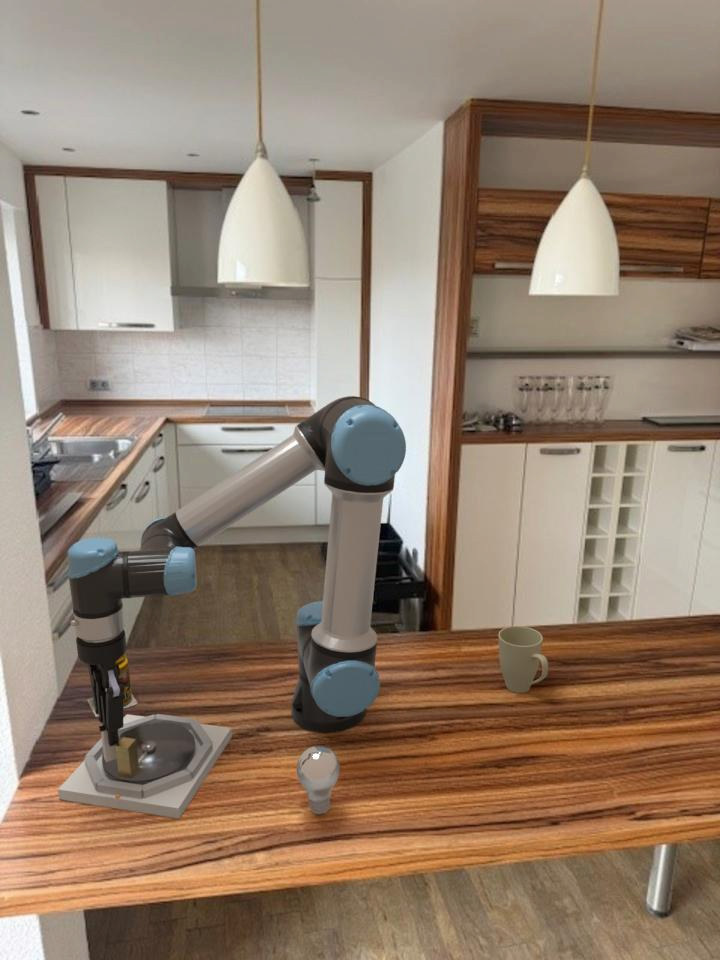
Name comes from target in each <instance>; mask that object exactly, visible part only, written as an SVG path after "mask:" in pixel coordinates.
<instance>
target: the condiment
mask: <svg viewBox="0 0 720 960" xmlns="http://www.w3.org/2000/svg"><path fill="white" fill-rule="evenodd" d="M116 664H118V665H119V668H120V675H119V684H123V685H124V687H125V689H124V694H123V710H124V709H126V708H130V707H133V706H135V705H138V704H139V703H138V701H137V700H136V698H135V697H134V694H132V685H131V677H130V670H129V669H130V668H129V660H128V658H127V656H126V652H125V653H124V655H123V656H122V657H120V658H119V659H118V660H117V661H116ZM86 700H87V703H88V704H89V705H88V706H89V707H90V709H91V711H92V712H93V715H94V717H95V718H99V714H98V715H97V714H96V712H95V704H94V698H93V697H91V698H88V699H86Z"/></svg>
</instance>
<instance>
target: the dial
mask: <svg viewBox="0 0 720 960" xmlns="http://www.w3.org/2000/svg"><path fill="white" fill-rule="evenodd" d="M120 738H121V740H120V741H119V742H118V743H117V744H116V746H115V748H116V756H117V759H114V760H111V761H109V762H106V761H105V759H104V754H103V756H102V765H103V770H104V772H105V774H106V775H107V776H108V777H109V778H110V779H111V780H113V781H119V782H126V783H133V784H139V785H145V784H147V783H150V782H153V781H155V780H158V779H161V778H163V777H166V776H169V775H171V774H174V773H177V772H179V771H182V770H183V769H184V768H185V767H186V766H188V764H189V763H190V762H191V760H192V759H193V757H194V755H195V748H196V747H195V739H194V736H193V735H192V733H191V732H190V731H189V730H188V729H186V728H184V727H182V726H180V725H176V724H172V723H152V724H146V725H142V726H138V727H135V728H133V729H130V730H128V731H126V732H124V733H122V734H121V735H120Z"/></svg>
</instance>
